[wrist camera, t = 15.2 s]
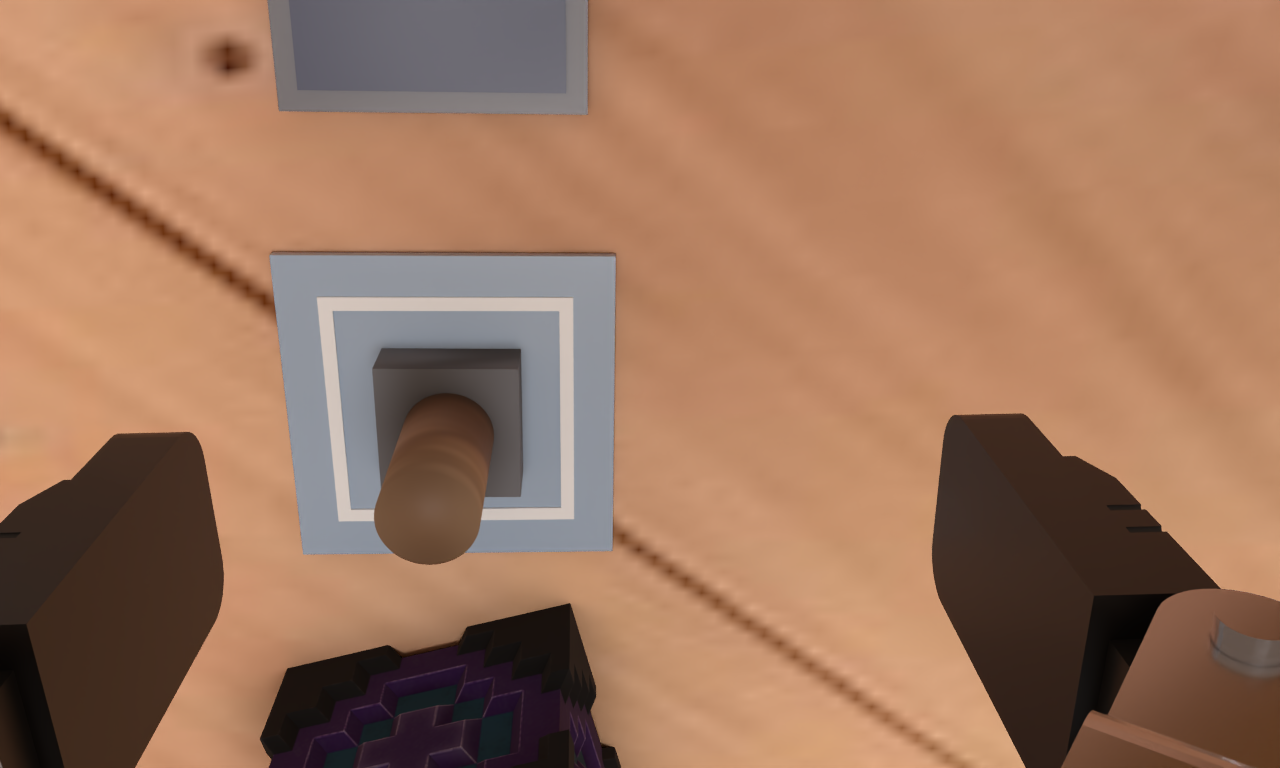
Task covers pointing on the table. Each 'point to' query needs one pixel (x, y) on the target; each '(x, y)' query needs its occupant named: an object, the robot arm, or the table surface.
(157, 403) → the table surface
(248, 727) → the table surface
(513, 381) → the stamp
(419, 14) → the pad
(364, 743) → the energy cube
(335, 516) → the mat
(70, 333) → the table surface
